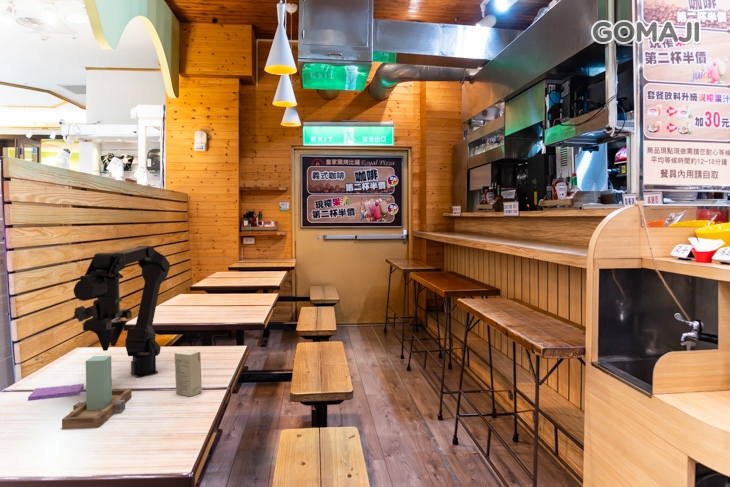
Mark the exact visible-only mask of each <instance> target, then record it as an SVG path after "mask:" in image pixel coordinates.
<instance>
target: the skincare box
mask: <svg viewBox="0 0 730 487" xmlns="http://www.w3.org/2000/svg"><path fill="white" fill-rule="evenodd" d="M201 356H202V355H201V351H199V350H190V349H184V350H183V349H182V350H180V351H177V352H175V353H174V372H175V394H176V395H181V396H186V397H193V396H196V395H198V394H200V393H202V392H203V390H202V387H203V384H202V364H201V363H202V361H201V360H202V359H201Z"/></svg>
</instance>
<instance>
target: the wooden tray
mask: <svg viewBox="0 0 730 487" xmlns="http://www.w3.org/2000/svg"><path fill="white" fill-rule="evenodd" d="M132 397H133V396H132V389H131V388H129V389H127V388H123V389H122V388H121V389H112V403H110V404H109V405H108V406H107V407H106V408H105V409H103V410H97V411H87V400H86V401H78V402H76V403H75V404H74V405H73V406H72V407H73V410H71V411H70V412H69V413H68V414H67V415H65V416H64V417H63V418H61V430H73V429H75V430H76V429H98V428H100V427H101V426H103V425H104V424H105V422H108V421H109V419H110V418H111V417H113V415H115V414H122V413H123V412H124V411H125V410H126V403H127V402H128V401H129V400H131V398H132Z"/></svg>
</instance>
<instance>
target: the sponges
mask: <svg viewBox="0 0 730 487" xmlns="http://www.w3.org/2000/svg"><path fill="white" fill-rule="evenodd" d="M84 388H85V386H84V383H75V384H70V385H59V386H46V387H37V388H35V389H34V390H33V391H32V392H31V393H30V395H28V396H27V401H36V400H37V401H38V400H48V399H58V398H68V397H69V398H70V397H76V396H80V394H81V392H82V391H83V390H84Z"/></svg>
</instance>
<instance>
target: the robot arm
mask: <svg viewBox="0 0 730 487" xmlns="http://www.w3.org/2000/svg"><path fill="white" fill-rule="evenodd" d="M136 262H137V265H138V266H139V268H141V276H142V278H143V281H144V285H143V288H142V293H141V299H140V303H139V308H138V313H137V317H136V318H137V319H136V323H135V325H134V326H133V327H132V328H131V327H130V328H128V329H127V332H126V338H125V339H124V342H125V349H126V353H127V356H128V357H132V360H131V361H130V366H131V367H130V374H131V375H133V376H135V377H136V378H142V377H147V376H150V375H155V374H158V373H159V371H158V370H157V367H156V366H157V364H156V362H157V361H156V360H157V357H158V356H159V354H160V353H161V348H162V347H161V346H160V345H159V343H158V342H157V341H156V332H155V330H154V327H153V323H154V318H155V313H156V310H157V309H156V308H157V302H158V298H159V295H160V294H159V293H160V288H161V284H162V283H163V282H164V281H165V280H166V279H167V277H168V274H169V271H170V269H171V263H170V261H169V260H168V259H167V257H166V256H165V255H164V254H162V253H161V252H159V251H157V250H156V249H155V248H154V247H153V246H151V245H138V246H136V247H134V248H130V249H125V250H122V251H117V252H97V253H95V254H94V255H93V258H92V260H91V261H90V264H89V265H88V268H87V269H86V271H85V274H84V275H80V278H79V279H80V280H79V281H77V282H76V283H75V285H74V287H73V294H74V296H75V298H76V299H77V300H79V301H82V302H84V301H89V300H93V303H92V305H90V306H88V307H85V306H84V305H80V306H78V307H76V308H74V312H73V313H74V315H73V318H74V319H77V321H78V322H79V323H80V322H82V331H83V332H92V333H94V334H95V335H96V337H97V338H98V340H99V343H100V345H101V346H100V347H101V348H102V351H104V352H106V351H107V352H108V350H109V347H110V346H111V347H115V346H117V344H118V341H119V338H120V337H121V334H122V332H123V330H124V328H125V326H126V324H127V323H128V320H129V319H132V318H133V314H132V313H133V311H132V310H131V309H129V308H121V307H120V306H121V304H120V302H122V301H123V297H120V280H121V279H124V275H122V273H120V272H121V271H123V270H124V269H126V266H127V265H130V264H132V263H133V264H134V263H136ZM94 299H95V300H94ZM124 318H125V319H126V320H123V319H124ZM83 321H84V322H83ZM156 356H157V357H156Z"/></svg>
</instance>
